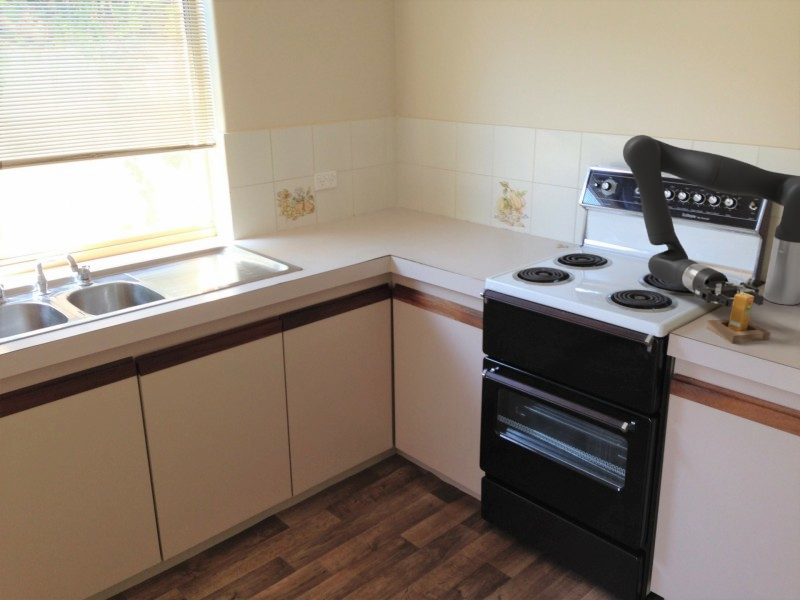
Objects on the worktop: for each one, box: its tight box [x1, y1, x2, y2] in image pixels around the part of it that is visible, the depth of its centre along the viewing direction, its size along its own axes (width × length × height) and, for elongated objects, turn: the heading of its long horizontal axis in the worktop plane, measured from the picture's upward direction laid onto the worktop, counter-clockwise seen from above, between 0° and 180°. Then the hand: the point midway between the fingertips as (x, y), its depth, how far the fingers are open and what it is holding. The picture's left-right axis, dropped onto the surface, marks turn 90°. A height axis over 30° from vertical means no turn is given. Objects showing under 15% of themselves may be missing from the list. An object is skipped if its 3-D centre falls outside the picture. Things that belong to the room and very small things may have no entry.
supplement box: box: [728, 292, 754, 332], centre depth 175 cm, size 3×3×10 cm
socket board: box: [705, 317, 772, 345], centre depth 176 cm, size 10×10×2 cm
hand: (746, 302), depth 172 cm, fingers open, 8 cm apart
